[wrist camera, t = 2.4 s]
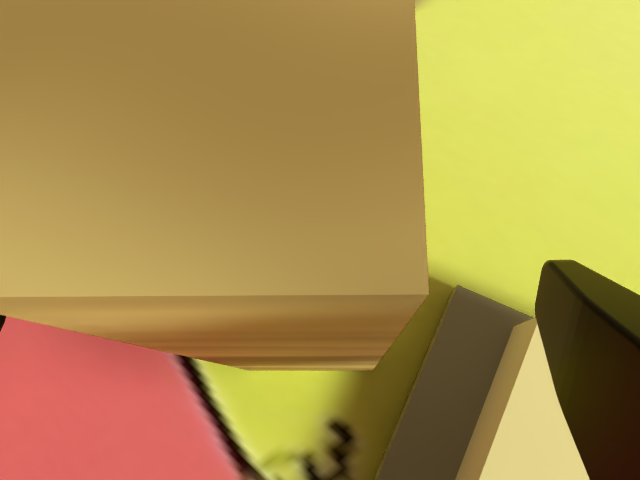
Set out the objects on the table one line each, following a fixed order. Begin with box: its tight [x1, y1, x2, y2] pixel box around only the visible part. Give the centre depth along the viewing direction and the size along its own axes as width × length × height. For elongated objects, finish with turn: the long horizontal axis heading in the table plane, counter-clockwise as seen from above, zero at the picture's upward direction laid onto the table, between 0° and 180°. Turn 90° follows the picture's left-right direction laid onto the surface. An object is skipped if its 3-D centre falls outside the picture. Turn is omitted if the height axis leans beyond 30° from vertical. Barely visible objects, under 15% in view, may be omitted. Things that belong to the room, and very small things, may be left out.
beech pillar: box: [0, 0, 429, 371], centre depth 12 cm, size 4×4×14 cm
